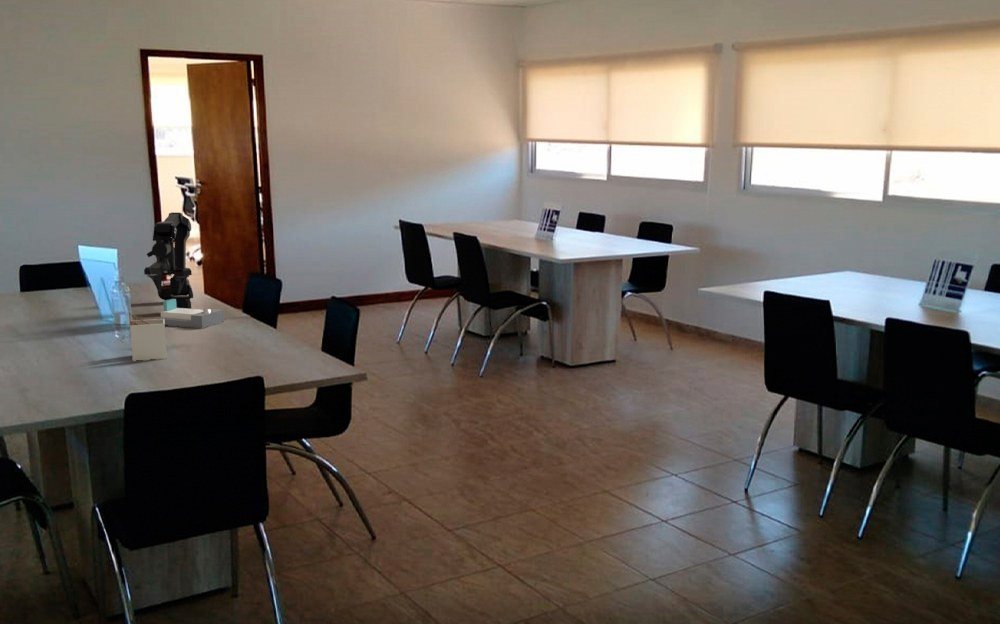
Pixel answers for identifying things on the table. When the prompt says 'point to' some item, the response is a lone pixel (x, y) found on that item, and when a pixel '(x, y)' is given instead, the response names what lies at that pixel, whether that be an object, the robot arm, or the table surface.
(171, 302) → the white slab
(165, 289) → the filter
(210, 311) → the release plunger
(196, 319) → the filter housing
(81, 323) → the table surface
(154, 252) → the robot arm
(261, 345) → the table surface
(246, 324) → the table surface
